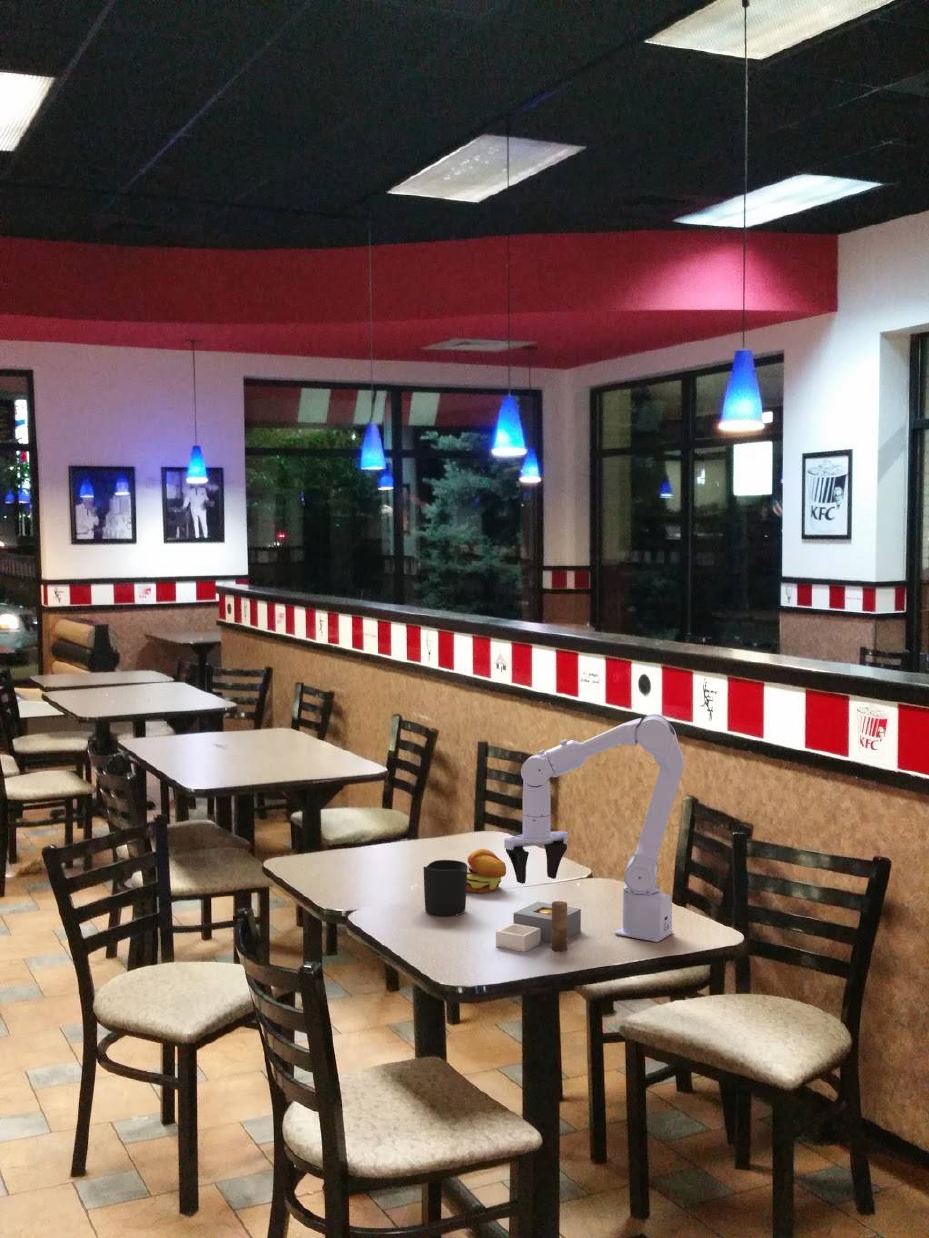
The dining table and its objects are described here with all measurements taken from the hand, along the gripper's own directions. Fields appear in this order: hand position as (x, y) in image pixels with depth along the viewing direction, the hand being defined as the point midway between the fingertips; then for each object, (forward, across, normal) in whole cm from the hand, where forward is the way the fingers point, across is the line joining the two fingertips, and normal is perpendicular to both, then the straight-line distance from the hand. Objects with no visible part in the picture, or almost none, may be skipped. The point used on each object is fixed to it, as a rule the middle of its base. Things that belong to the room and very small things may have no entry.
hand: (536, 880), depth 251 cm
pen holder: (+10, +10, -20) cm, 24 cm away
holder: (+10, +10, +8) cm, 16 cm away
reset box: (+10, 0, +5) cm, 11 cm away
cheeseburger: (+10, -6, -31) cm, 33 cm away
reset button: (+7, 0, +5) cm, 8 cm away
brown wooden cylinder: (+10, +5, +14) cm, 18 cm away
